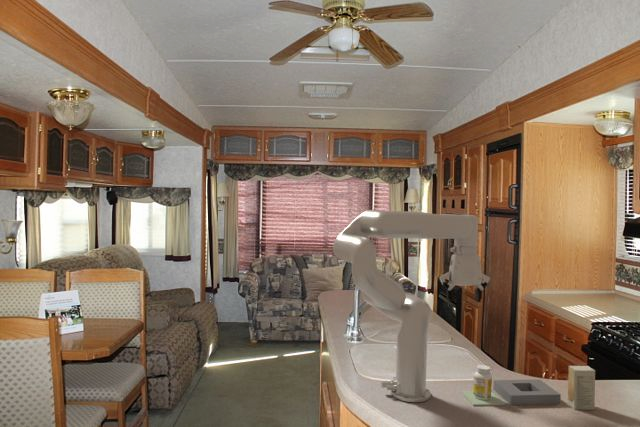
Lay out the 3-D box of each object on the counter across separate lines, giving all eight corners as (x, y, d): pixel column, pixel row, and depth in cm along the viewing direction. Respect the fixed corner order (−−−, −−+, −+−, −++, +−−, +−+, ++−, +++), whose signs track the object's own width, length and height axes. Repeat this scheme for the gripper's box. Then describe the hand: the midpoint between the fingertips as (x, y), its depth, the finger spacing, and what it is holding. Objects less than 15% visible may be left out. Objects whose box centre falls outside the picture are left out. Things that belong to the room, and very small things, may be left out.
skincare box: (587, 404, 149) (589, 365, 148) (594, 410, 144) (596, 370, 144) (566, 403, 149) (568, 364, 148) (573, 409, 144) (574, 369, 144)
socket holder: (510, 405, 147) (511, 395, 147) (493, 389, 159) (493, 380, 159) (560, 403, 148) (560, 394, 148) (539, 388, 160) (539, 379, 160)
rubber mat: (473, 405, 146) (473, 404, 146) (460, 392, 156) (460, 390, 156) (504, 405, 147) (504, 403, 147) (490, 391, 157) (490, 390, 157)
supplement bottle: (477, 400, 148) (478, 370, 148) (470, 393, 154) (471, 364, 153) (494, 400, 149) (495, 370, 148) (486, 393, 154) (487, 363, 154)
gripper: (444, 252, 157) (442, 304, 157) (495, 252, 158) (493, 304, 159) (436, 249, 164) (435, 299, 165) (485, 250, 166) (483, 299, 166)
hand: (463, 301), depth 162 cm, fingers open, 9 cm apart
